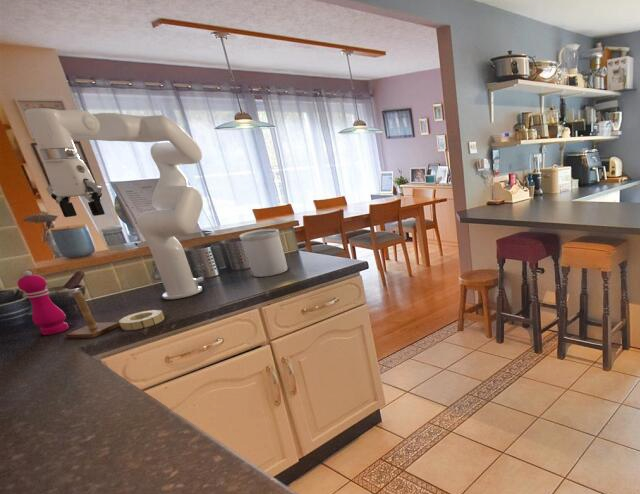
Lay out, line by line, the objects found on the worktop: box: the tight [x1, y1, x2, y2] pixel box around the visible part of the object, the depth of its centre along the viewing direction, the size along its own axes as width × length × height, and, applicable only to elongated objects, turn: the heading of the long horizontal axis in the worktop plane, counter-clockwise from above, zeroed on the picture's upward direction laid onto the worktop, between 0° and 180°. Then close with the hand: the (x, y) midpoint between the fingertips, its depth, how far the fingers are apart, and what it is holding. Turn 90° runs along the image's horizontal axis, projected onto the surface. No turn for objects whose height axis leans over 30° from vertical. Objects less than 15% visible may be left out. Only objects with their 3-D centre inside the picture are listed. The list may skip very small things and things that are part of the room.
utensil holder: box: [238, 228, 288, 278], centre depth 186 cm, size 15×15×18 cm
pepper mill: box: [17, 270, 70, 336], centre depth 134 cm, size 7×7×20 cm
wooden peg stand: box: [65, 290, 121, 339], centre depth 133 cm, size 9×9×13 cm
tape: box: [118, 309, 165, 331], centre depth 140 cm, size 11×11×2 cm
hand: (84, 215), depth 131 cm, fingers open, 9 cm apart
